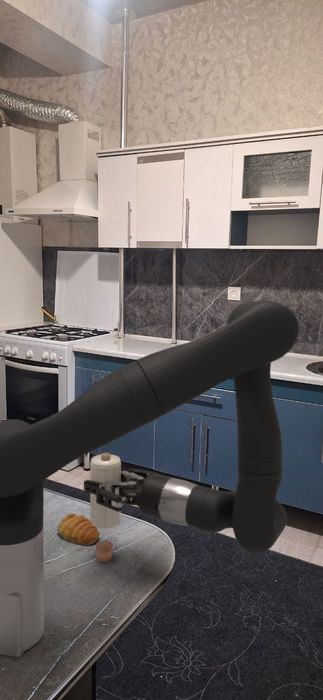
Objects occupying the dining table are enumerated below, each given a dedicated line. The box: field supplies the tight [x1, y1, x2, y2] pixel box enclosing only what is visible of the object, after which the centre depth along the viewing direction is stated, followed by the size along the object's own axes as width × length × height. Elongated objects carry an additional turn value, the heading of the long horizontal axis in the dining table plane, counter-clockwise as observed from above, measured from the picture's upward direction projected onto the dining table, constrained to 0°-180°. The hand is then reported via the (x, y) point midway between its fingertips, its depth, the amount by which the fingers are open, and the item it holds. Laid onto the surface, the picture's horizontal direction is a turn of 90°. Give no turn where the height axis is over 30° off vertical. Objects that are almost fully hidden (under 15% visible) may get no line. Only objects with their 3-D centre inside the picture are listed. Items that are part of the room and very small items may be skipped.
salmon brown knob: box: [95, 540, 114, 563], centre depth 98 cm, size 3×3×3 cm
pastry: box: [57, 513, 100, 546], centre depth 106 cm, size 9×7×4 cm
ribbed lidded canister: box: [89, 452, 122, 529], centre depth 96 cm, size 6×6×14 cm
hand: (95, 479), depth 97 cm, fingers closed on ribbed lidded canister, 5 cm apart
